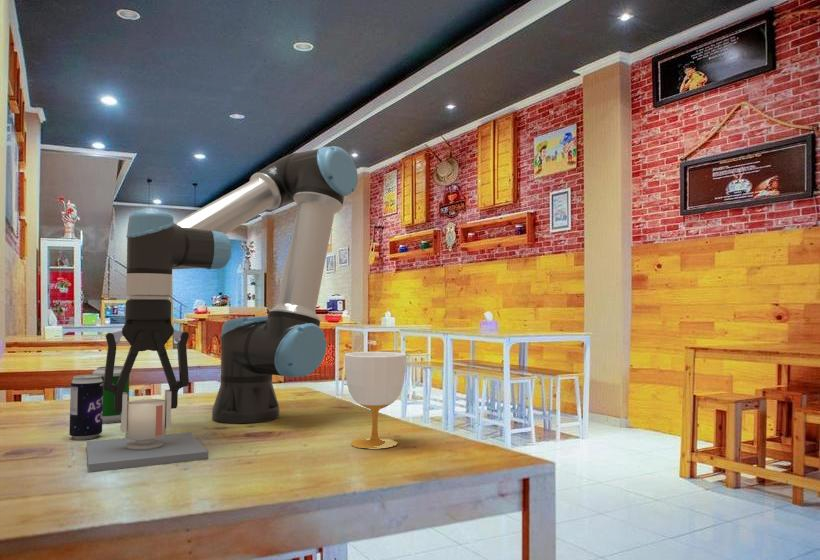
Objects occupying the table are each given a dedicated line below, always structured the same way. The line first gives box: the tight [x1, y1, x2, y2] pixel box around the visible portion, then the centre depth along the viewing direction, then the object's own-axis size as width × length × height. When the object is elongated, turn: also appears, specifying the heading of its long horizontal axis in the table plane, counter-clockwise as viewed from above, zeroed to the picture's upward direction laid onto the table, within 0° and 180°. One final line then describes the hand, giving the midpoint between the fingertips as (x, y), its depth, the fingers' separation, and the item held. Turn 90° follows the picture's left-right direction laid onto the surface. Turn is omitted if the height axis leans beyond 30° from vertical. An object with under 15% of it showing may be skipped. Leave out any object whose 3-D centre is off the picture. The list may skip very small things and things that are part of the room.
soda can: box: [92, 365, 130, 424], centre depth 137 cm, size 8×8×12 cm
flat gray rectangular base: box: [86, 431, 209, 473], centre depth 107 cm, size 18×18×3 cm
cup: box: [344, 351, 407, 449], centre depth 115 cm, size 12×12×17 cm
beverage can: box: [68, 374, 103, 441], centre depth 119 cm, size 6×6×12 cm
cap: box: [125, 398, 166, 440], centre depth 107 cm, size 6×6×6 cm
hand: (145, 428), depth 107 cm, fingers closed on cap, 6 cm apart
